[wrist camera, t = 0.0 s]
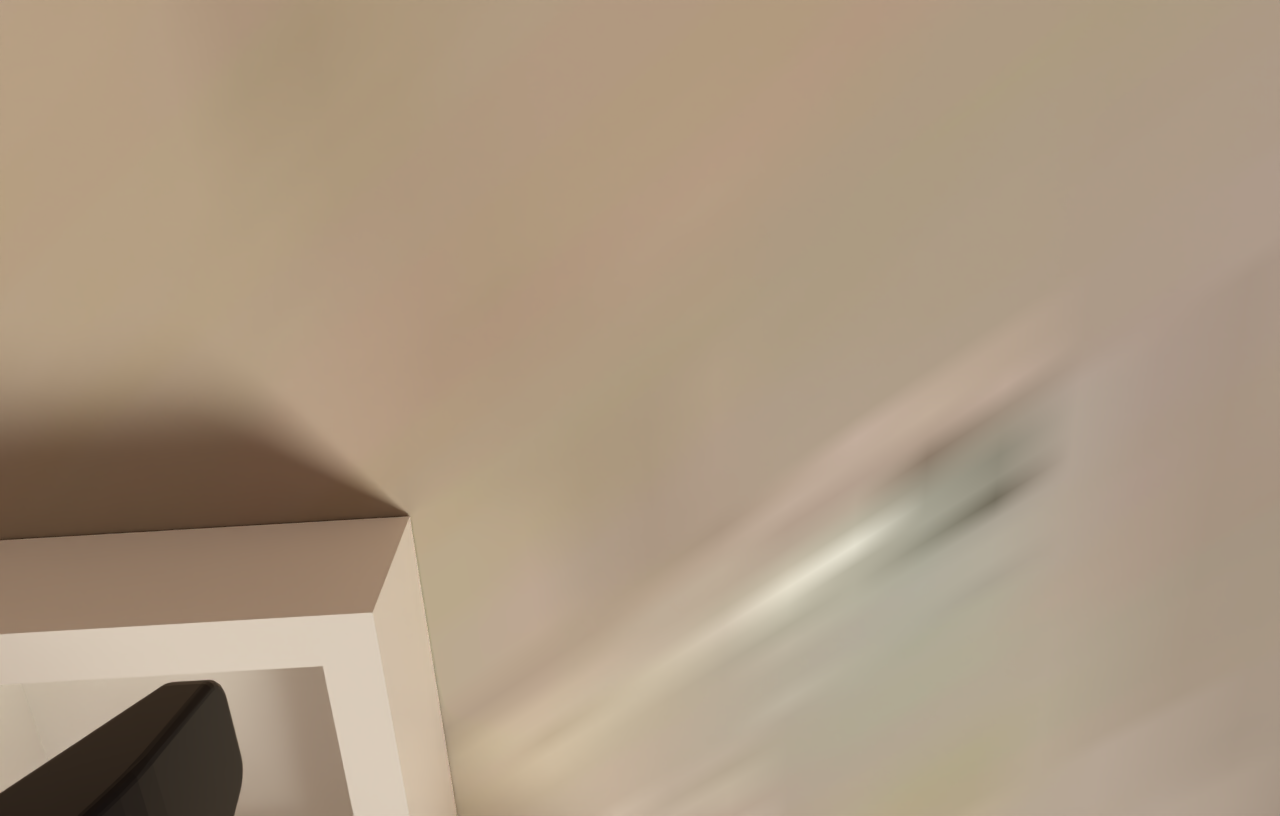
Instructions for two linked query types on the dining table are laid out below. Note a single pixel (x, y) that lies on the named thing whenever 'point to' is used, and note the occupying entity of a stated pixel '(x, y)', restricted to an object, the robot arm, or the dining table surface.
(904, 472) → the dining table surface
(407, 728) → the stoneware dish
